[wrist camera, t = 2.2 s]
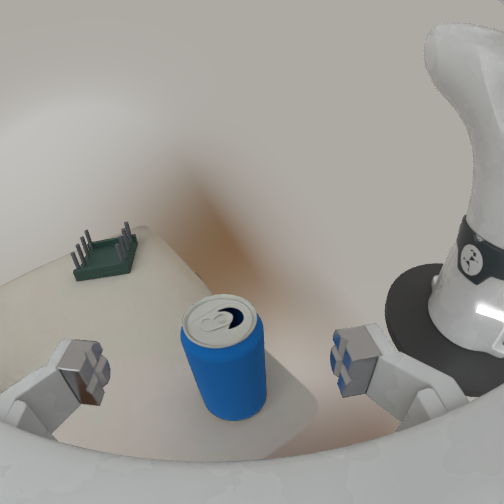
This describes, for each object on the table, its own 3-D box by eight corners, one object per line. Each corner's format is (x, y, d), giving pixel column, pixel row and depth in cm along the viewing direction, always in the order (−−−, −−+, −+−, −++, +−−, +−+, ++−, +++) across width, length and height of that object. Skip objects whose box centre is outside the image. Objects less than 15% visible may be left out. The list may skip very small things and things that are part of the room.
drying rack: (137, 243, 57) (131, 219, 55) (129, 273, 48) (121, 246, 45) (91, 251, 56) (83, 229, 53) (76, 281, 47) (66, 256, 44)
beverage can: (277, 407, 26) (279, 330, 20) (218, 433, 24) (191, 364, 18) (249, 365, 31) (240, 281, 25) (196, 385, 29) (168, 305, 23)
